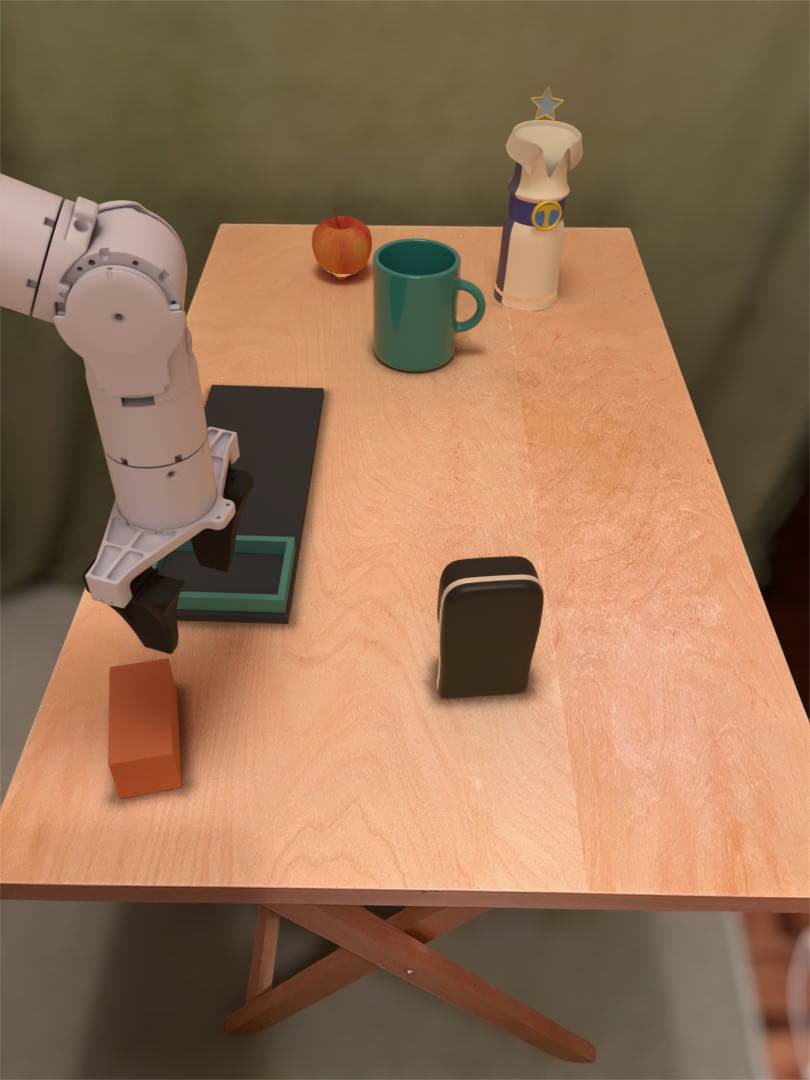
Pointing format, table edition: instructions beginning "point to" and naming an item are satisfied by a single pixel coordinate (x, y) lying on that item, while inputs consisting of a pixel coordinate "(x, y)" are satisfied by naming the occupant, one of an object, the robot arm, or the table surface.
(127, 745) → the pad piece
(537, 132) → the white trophy figurine
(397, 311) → the cup
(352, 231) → the apple
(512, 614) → the battery charger
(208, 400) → the back pad
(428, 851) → the table surface
